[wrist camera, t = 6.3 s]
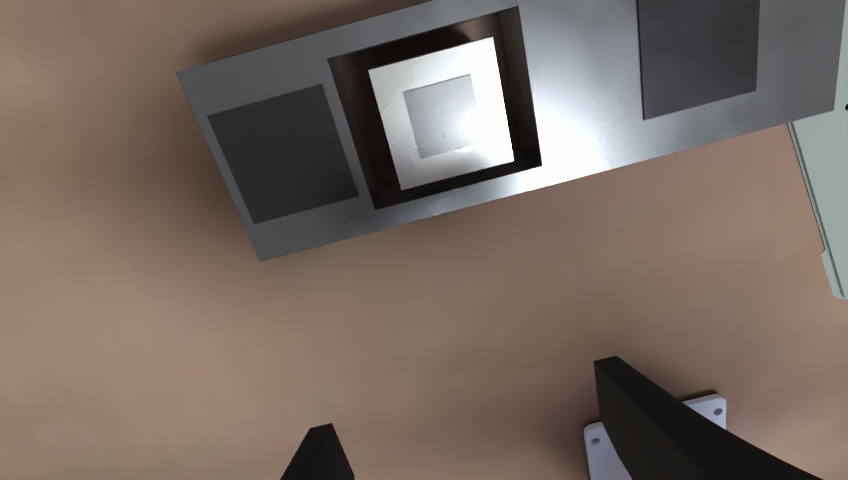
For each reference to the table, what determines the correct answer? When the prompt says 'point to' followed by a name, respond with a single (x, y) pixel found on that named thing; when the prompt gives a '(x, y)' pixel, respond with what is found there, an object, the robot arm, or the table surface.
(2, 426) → the table surface
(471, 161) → the cube with square inset
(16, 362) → the table surface
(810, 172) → the metal bracket
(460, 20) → the rail
